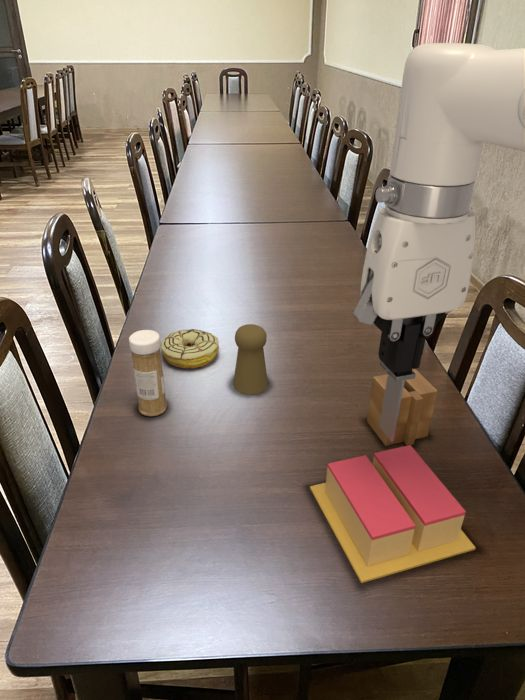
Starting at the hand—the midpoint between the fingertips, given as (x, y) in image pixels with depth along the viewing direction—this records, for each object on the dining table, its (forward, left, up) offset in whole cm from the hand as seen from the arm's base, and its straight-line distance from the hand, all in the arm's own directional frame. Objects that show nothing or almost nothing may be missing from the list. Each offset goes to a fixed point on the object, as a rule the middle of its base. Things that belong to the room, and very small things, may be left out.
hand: (398, 363), depth 59 cm
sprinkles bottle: (+25, -28, -21) cm, 43 cm away
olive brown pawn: (+8, -30, -21) cm, 38 cm away
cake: (0, +3, -21) cm, 21 cm away
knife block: (-10, -12, -21) cm, 26 cm away
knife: (0, 0, -10) cm, 10 cm away
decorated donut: (+16, -42, -21) cm, 50 cm away
